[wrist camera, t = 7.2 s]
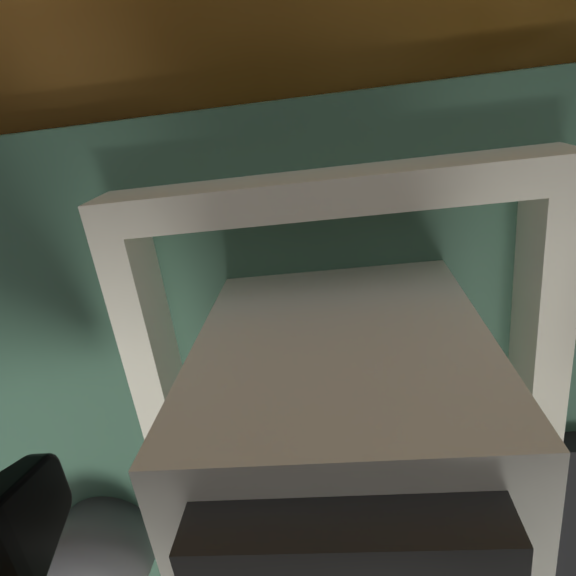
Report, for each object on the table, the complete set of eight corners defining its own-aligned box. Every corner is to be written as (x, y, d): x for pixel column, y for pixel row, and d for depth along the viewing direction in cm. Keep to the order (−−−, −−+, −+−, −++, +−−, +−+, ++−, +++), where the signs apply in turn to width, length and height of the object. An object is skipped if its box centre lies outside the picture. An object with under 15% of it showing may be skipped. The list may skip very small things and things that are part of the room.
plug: (443, 437, 10) (560, 791, 5) (257, 446, 11) (193, 781, 6) (442, 260, 9) (607, 509, 4) (227, 279, 9) (101, 523, 4)
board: (717, 557, 12) (812, 671, 10) (51, 568, 14) (-4, 665, 12) (878, 23, 8) (1121, -3, 5) (-128, 150, 10) (-274, 172, 7)
